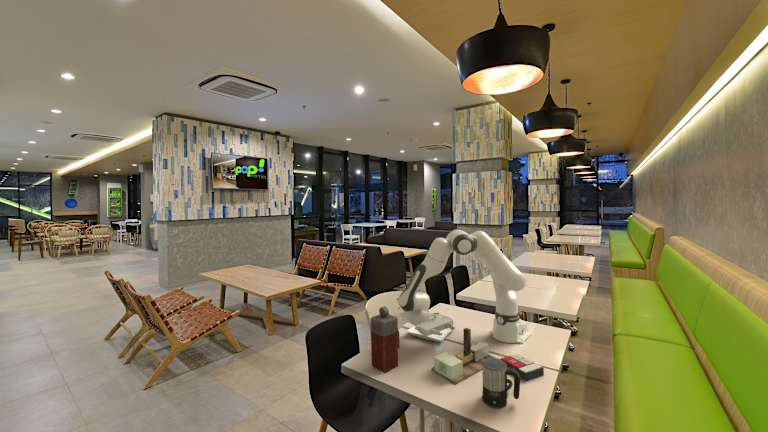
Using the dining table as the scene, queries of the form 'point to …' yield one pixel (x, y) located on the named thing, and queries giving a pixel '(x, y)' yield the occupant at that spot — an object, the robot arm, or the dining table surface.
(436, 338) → the salad plate
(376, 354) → the red lidded canister
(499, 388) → the milk frother
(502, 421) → the dining table surface
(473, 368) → the walnut board
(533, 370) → the calculator
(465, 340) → the dark tall piece
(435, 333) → the robot arm
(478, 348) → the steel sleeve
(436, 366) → the socket block
